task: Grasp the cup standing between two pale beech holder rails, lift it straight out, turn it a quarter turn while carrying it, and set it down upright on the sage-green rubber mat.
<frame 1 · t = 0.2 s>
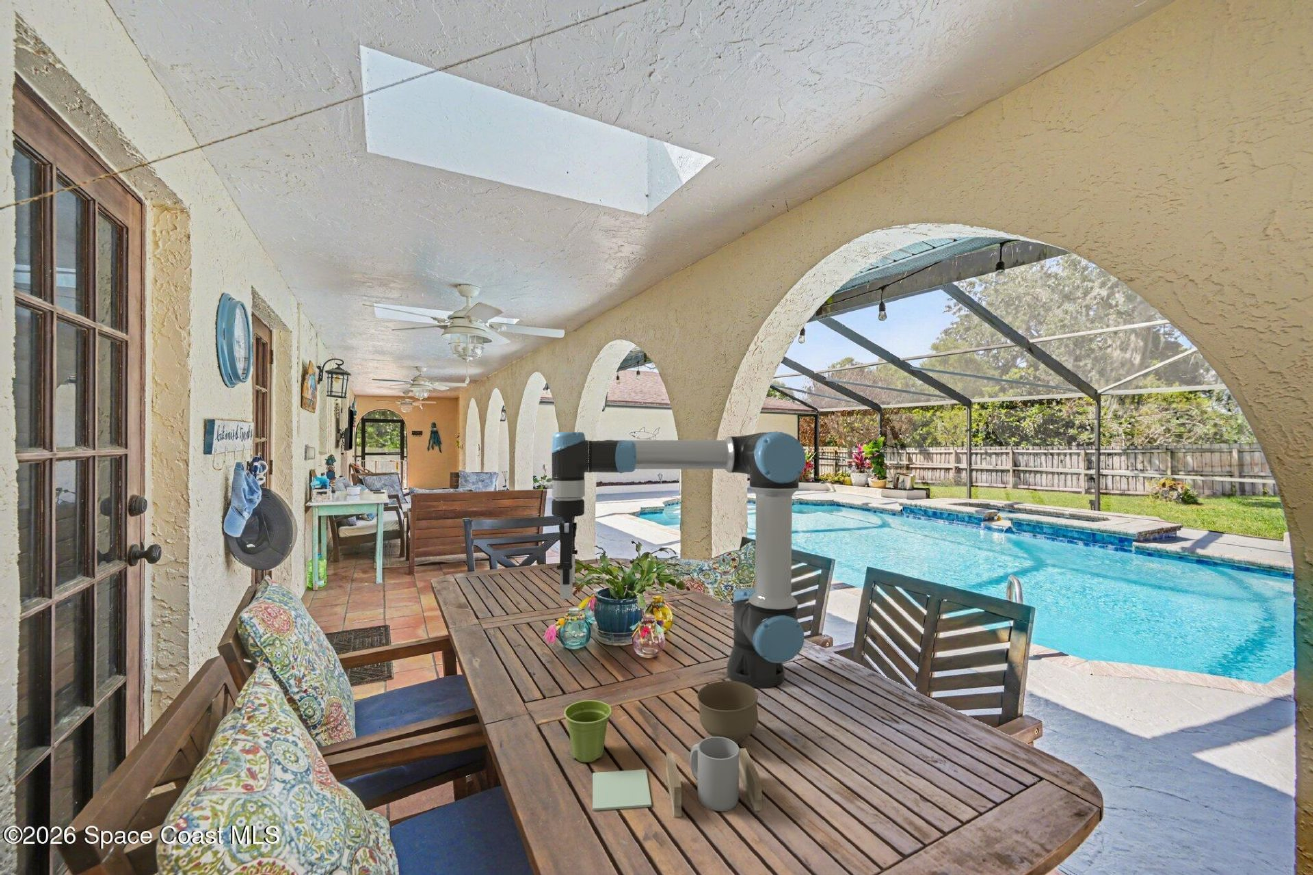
hand: (567, 590, 128), 28 cm above the table, fingers open, 13 cm apart
plant pot: (587, 755, 110), on the table
cup: (711, 796, 98), on the table
bowl: (727, 741, 115), on the table
mat: (620, 790, 99), on the table
holder rails: (711, 794, 98), on the table
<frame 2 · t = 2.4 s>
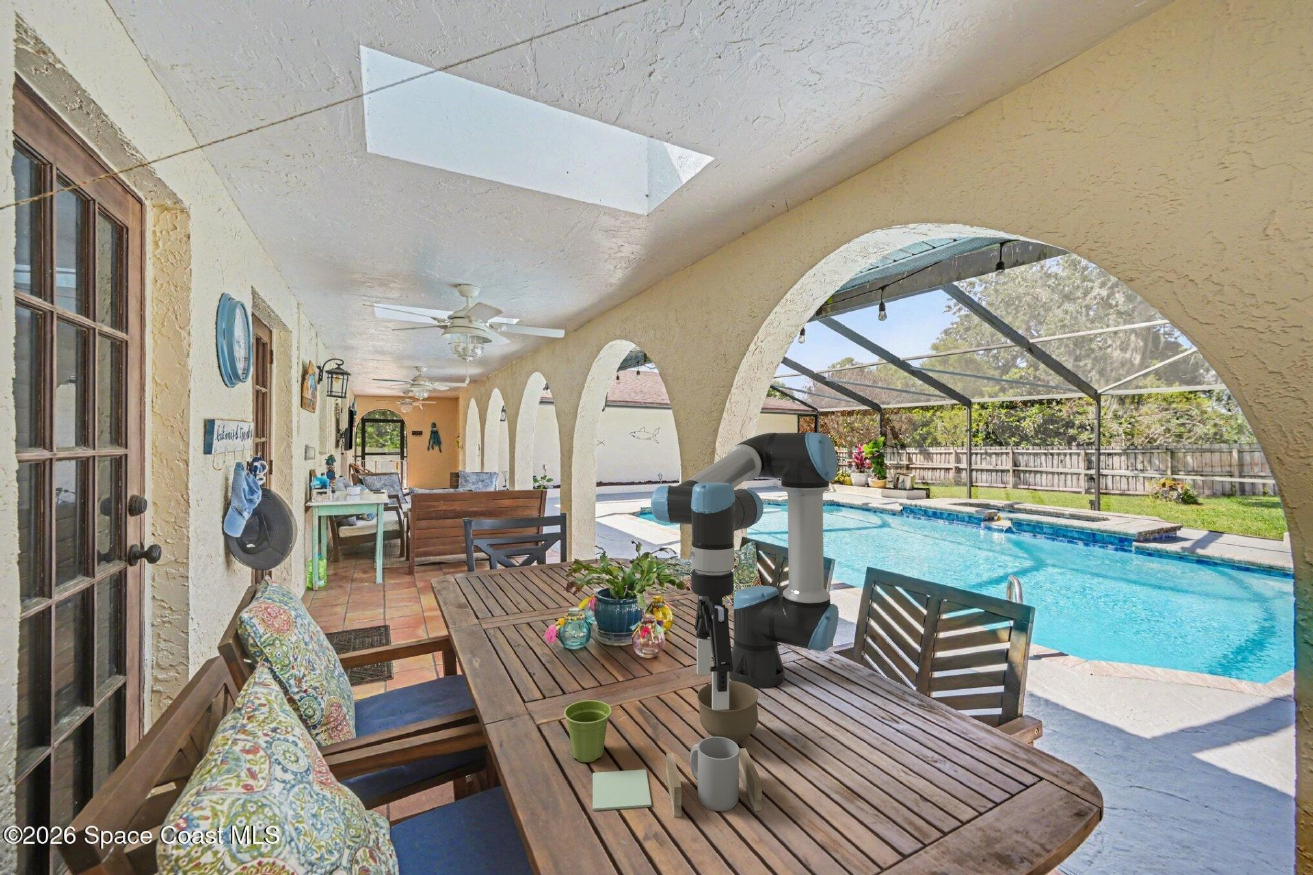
hand: (711, 690, 98), 19 cm above the table, fingers open, 13 cm apart
nothing on the table moved.
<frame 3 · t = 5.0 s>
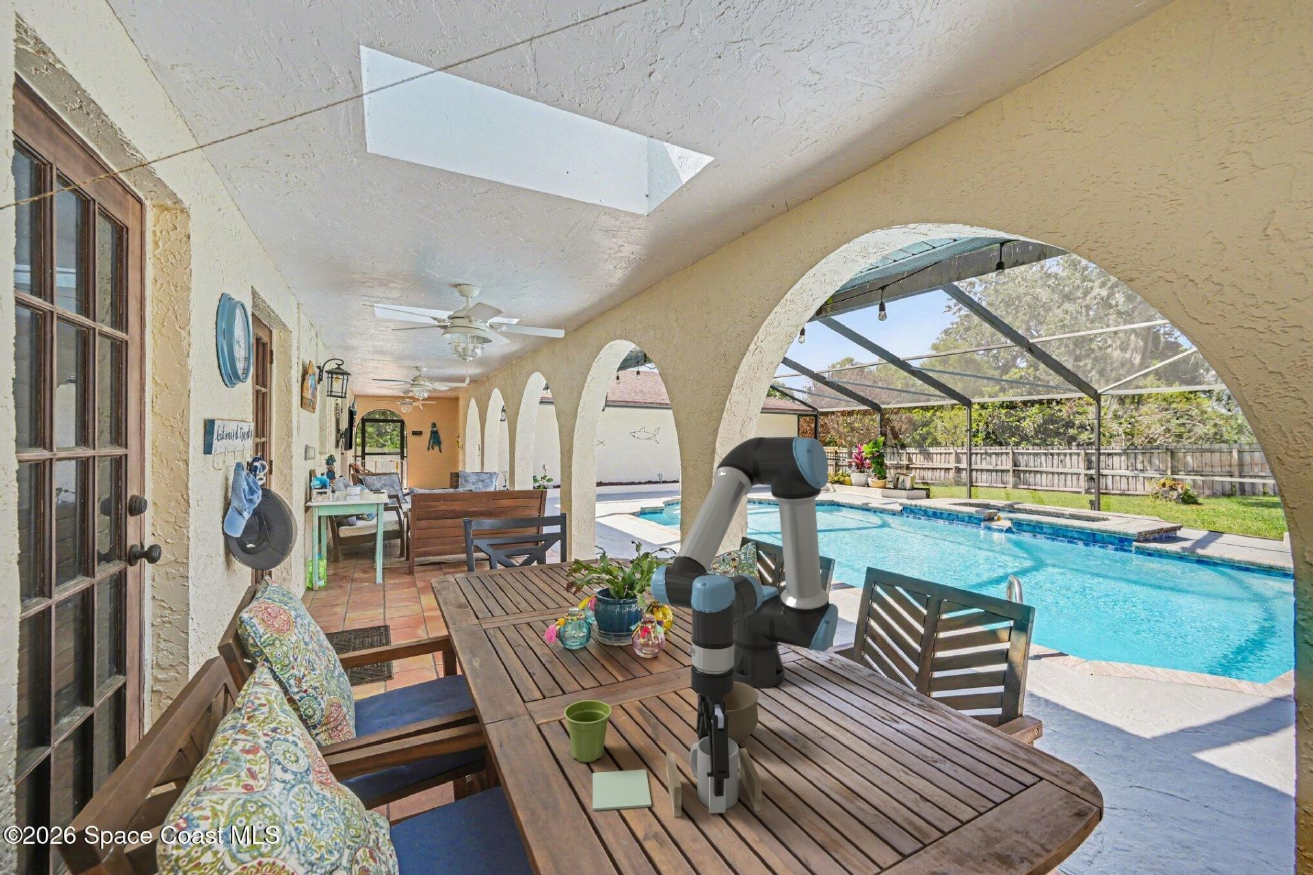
hand: (711, 793, 98), 0 cm above the table, fingers open, 9 cm apart
cup: (711, 794, 98), on the table, touching gripper
everything else where it was.
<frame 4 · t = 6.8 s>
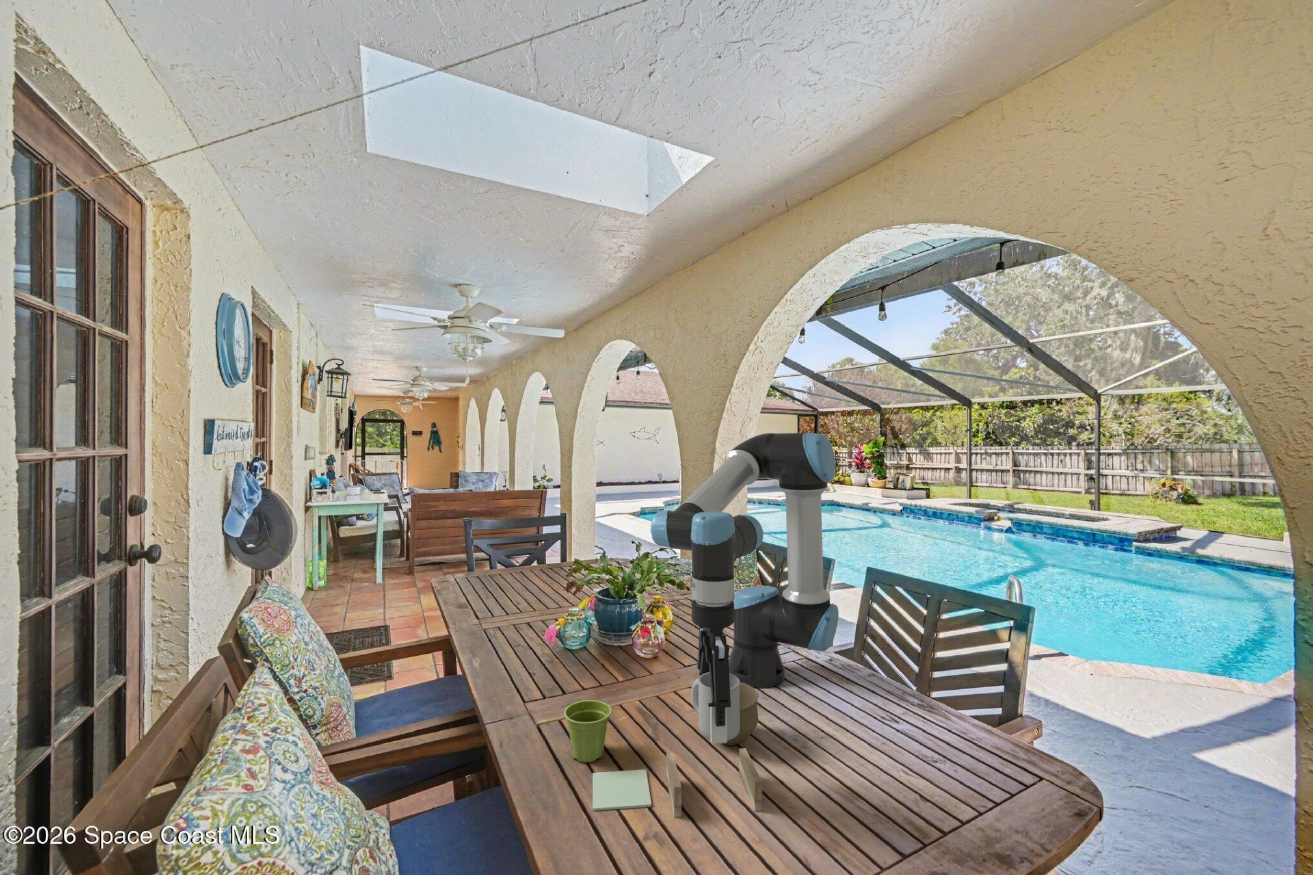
hand: (713, 727, 98), 12 cm above the table, fingers closed on cup, 8 cm apart
cup: (713, 728, 99), point 11 cm above the table, touching gripper
everything else where it was.
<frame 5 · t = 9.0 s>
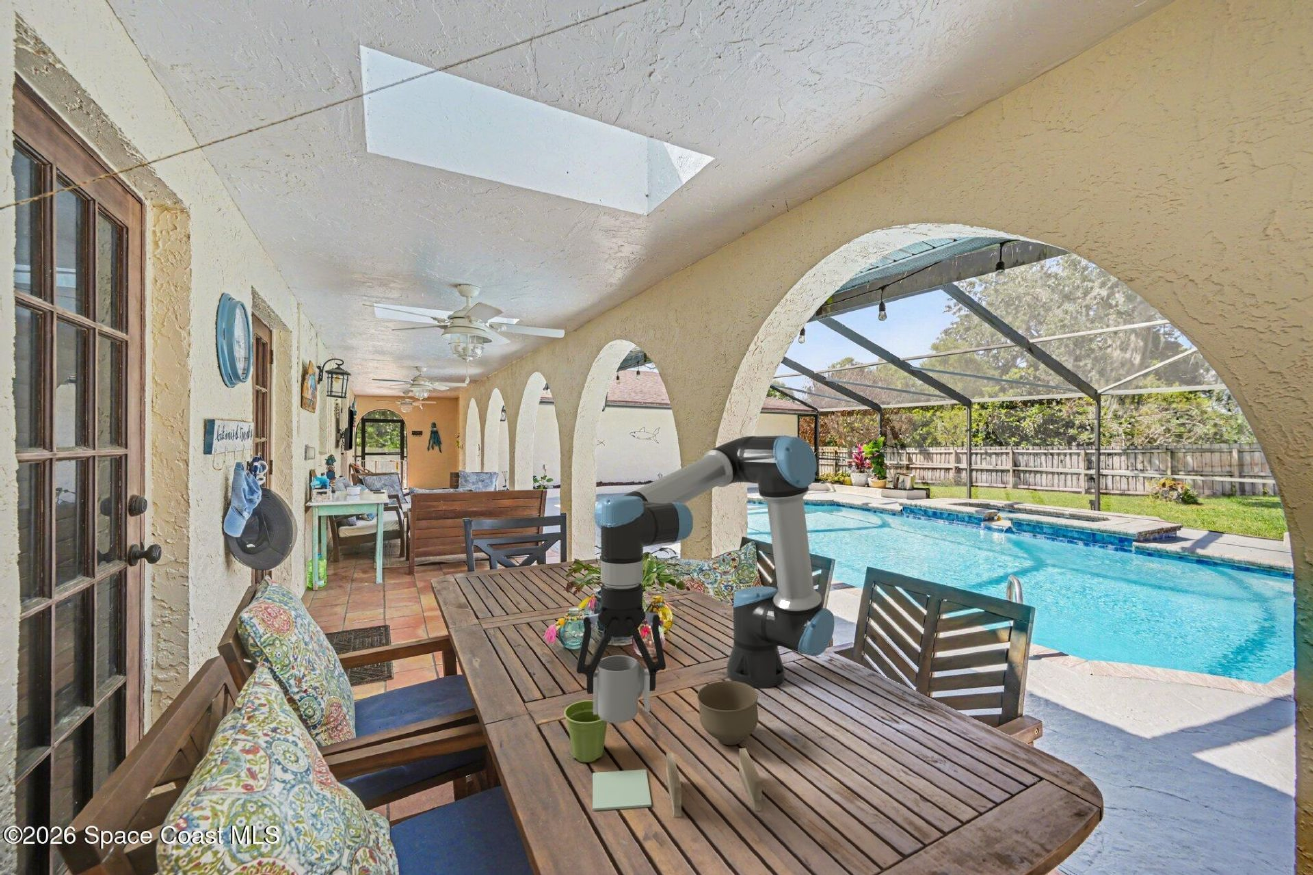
hand: (621, 709, 99), 14 cm above the table, fingers closed on cup, 8 cm apart
cup: (623, 712, 99), point 14 cm above the table, touching gripper
everything else where it was.
when the fingers open (1 cm above the table, at t = 12.1 s): cup stays where it is, resting on mat.
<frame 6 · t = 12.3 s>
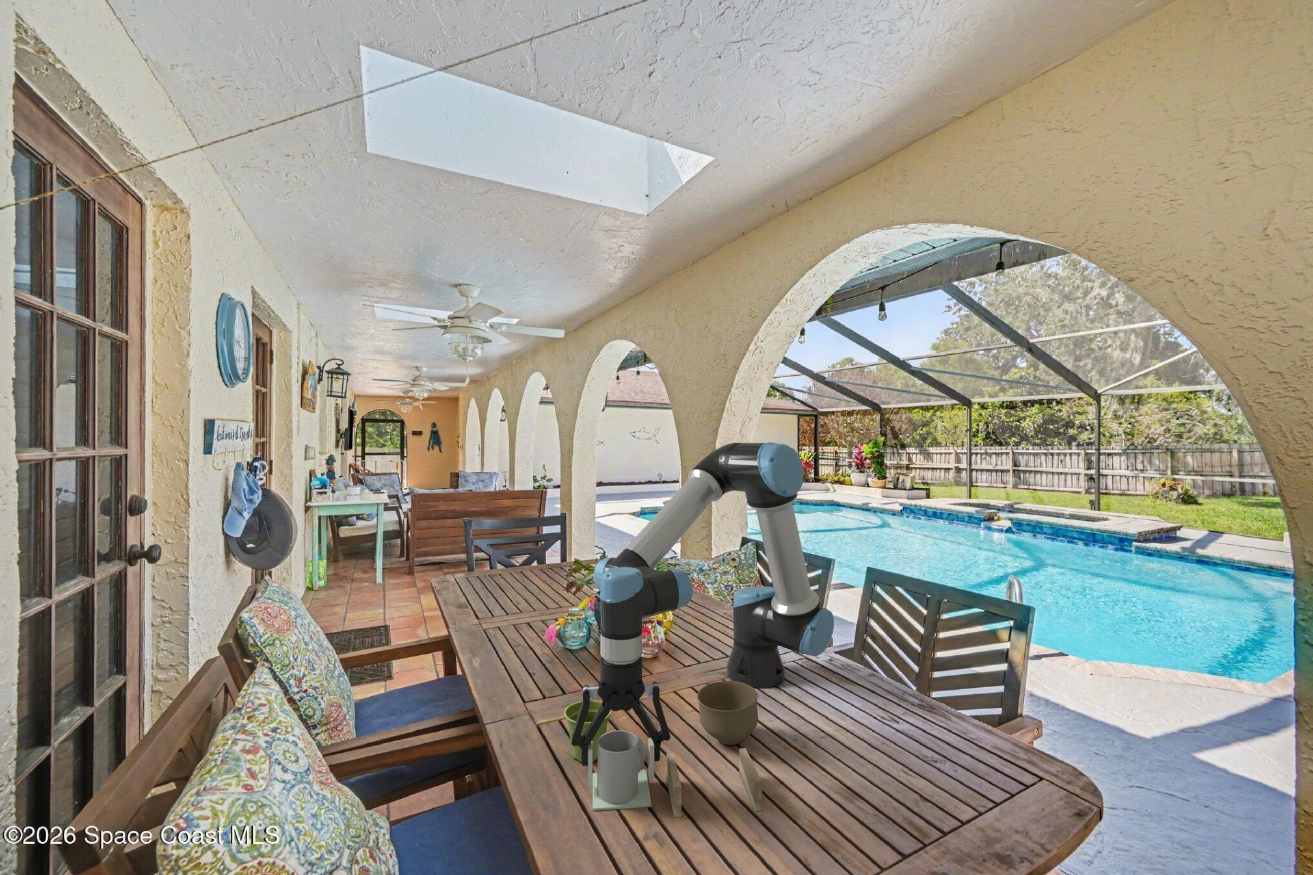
hand: (620, 780, 99), 2 cm above the table, fingers open, 10 cm apart
cup: (623, 789, 99), resting on mat
everything else where it was.
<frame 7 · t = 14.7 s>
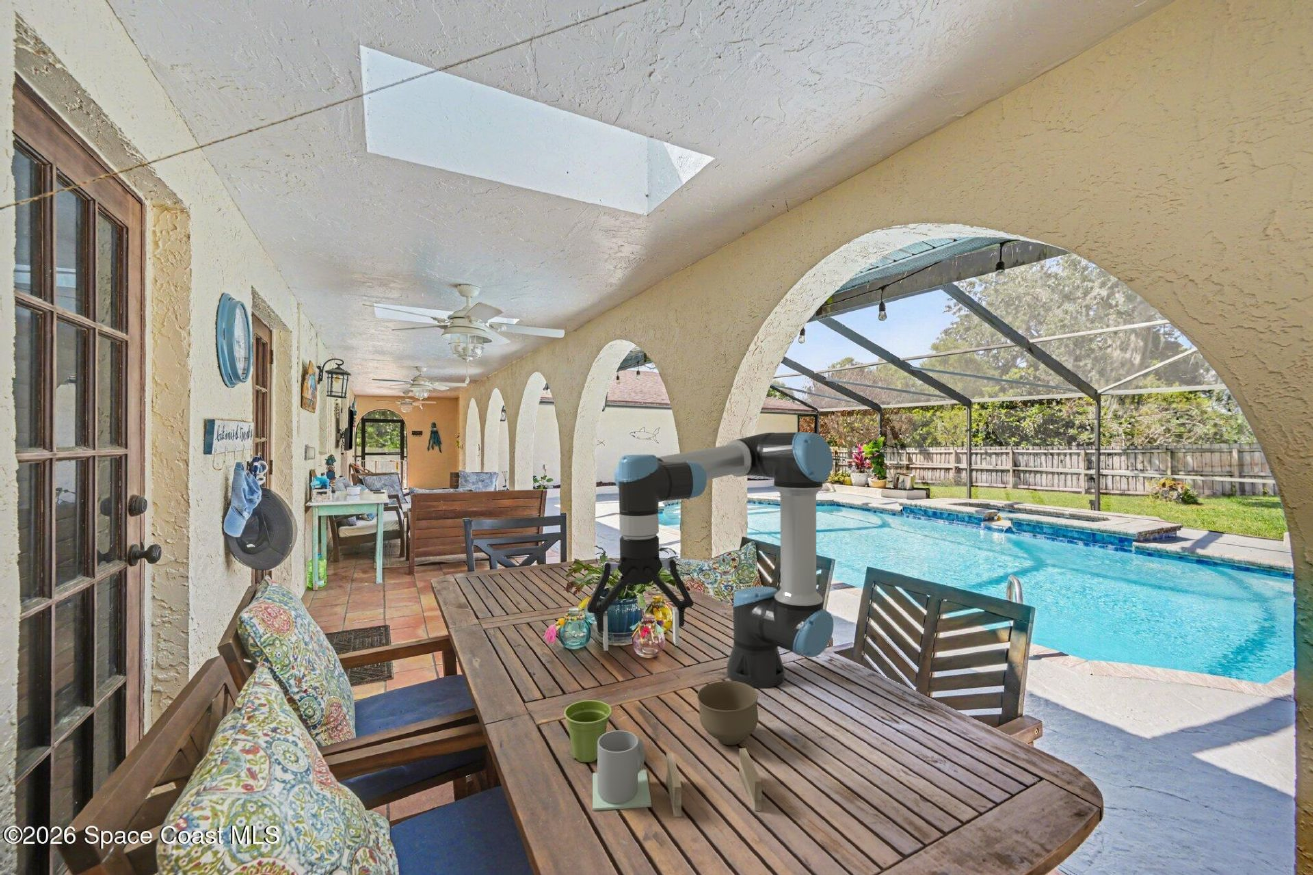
hand: (641, 645, 106), 23 cm above the table, fingers open, 13 cm apart
nothing on the table moved.
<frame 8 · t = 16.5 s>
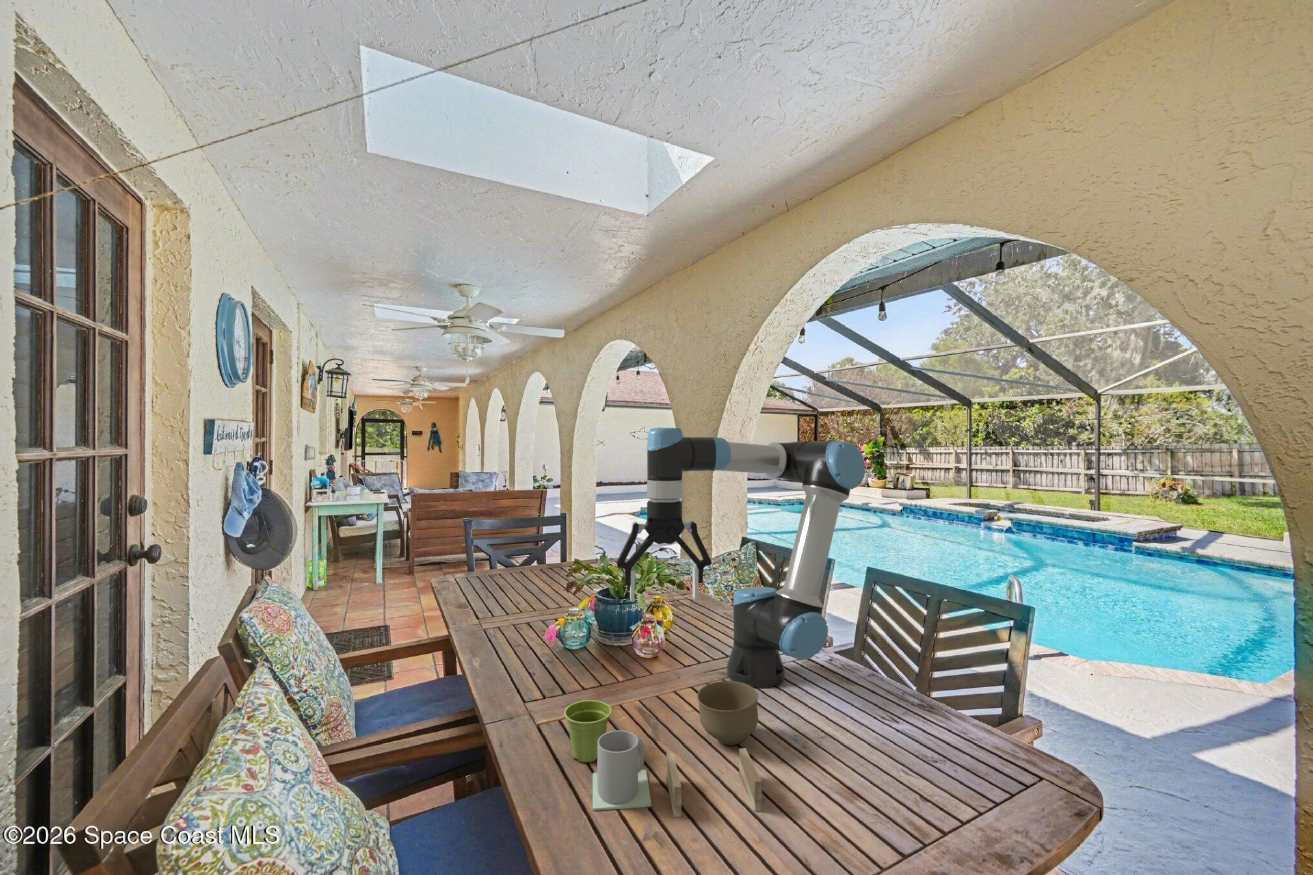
hand: (664, 599, 118), 29 cm above the table, fingers open, 13 cm apart
nothing on the table moved.
at the end: cup inside the target area on the mat (0.5 cm from its centre), point 0.2 cm above the mat's base; cup tilted 0°; the gripper is holding nothing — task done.
